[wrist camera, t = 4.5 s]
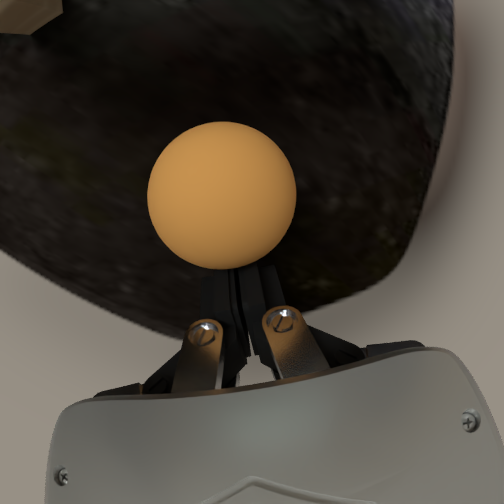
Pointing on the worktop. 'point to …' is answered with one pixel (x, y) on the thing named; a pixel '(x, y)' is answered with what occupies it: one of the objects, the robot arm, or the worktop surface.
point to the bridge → (27, 15)
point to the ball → (221, 195)
